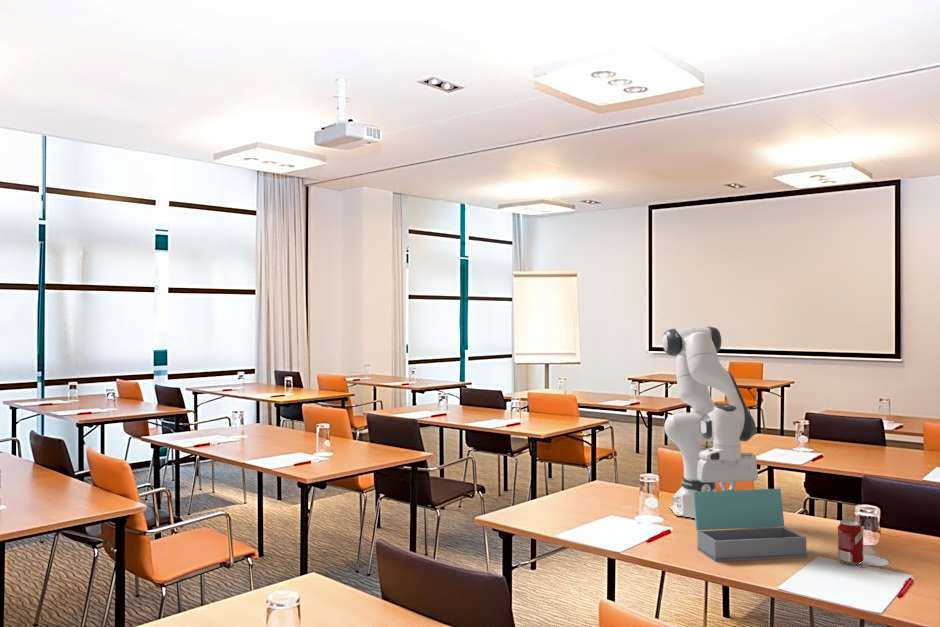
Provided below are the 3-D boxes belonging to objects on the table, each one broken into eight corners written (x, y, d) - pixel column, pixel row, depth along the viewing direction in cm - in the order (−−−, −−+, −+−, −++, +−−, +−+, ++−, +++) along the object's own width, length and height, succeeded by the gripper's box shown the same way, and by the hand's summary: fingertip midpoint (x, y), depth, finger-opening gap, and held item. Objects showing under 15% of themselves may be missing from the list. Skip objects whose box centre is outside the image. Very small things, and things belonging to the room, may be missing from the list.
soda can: (850, 566, 218) (849, 526, 218) (833, 560, 224) (832, 520, 224) (868, 564, 219) (868, 524, 220) (851, 558, 226) (850, 518, 226)
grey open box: (697, 549, 235) (697, 531, 235) (784, 545, 239) (784, 527, 239) (715, 561, 223) (714, 541, 223) (806, 556, 227) (806, 537, 228)
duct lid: (697, 530, 235) (696, 530, 236) (784, 526, 239) (782, 526, 240) (694, 491, 238) (692, 491, 239) (780, 488, 242) (778, 488, 243)
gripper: (751, 451, 251) (752, 492, 251) (694, 452, 248) (695, 494, 248) (760, 453, 245) (762, 495, 244) (702, 455, 242) (703, 497, 241)
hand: (728, 494), depth 246 cm, fingers closed
